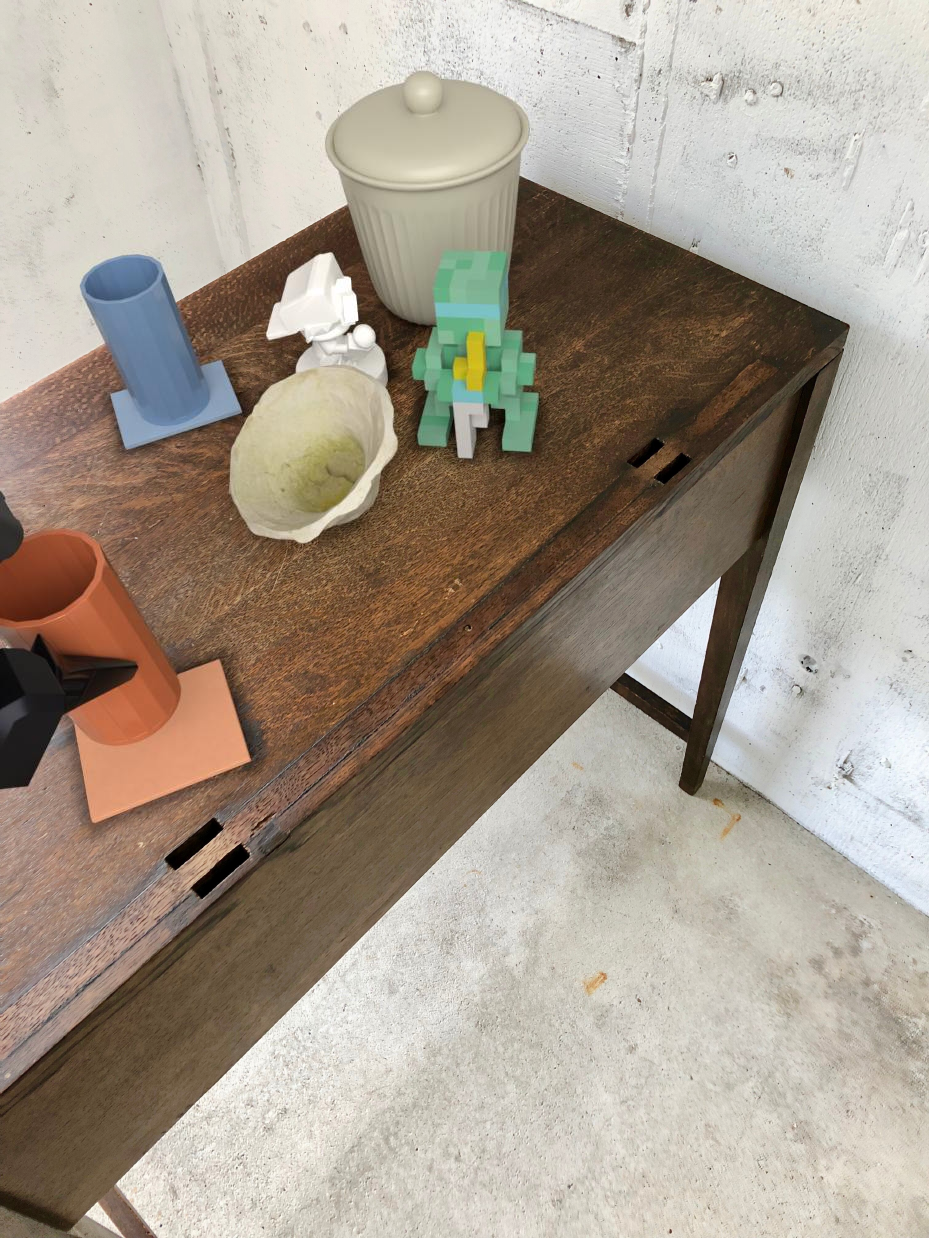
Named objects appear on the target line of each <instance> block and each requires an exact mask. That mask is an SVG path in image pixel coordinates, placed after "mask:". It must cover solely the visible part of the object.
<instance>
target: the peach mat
mask: <svg viewBox="0 0 929 1238" xmlns="http://www.w3.org/2000/svg"><path fill="white" fill-rule="evenodd" d="M177 675H178V677H179V679H180V683H181V696H180V701H179V704H178V706H177V708H176V711H175V712H174V714H173V715H172V717H171V718H170V720H169V721H168V722H167V723H166V724H165V725H164V726H163V727H162V728H161V729H160V730H158V731H157V732H156V733H154V734H153V735H151V736H150V737H148V738H146V739H144V740H141V741H139V742H136V743H133V744H129V745H123V746H109V745H104V744H100V743H97V742H95V741H93V740H92V739H90V738H89V737H88V736H87V735H86V734H85V733H84V732H83V731H82V730H81V729H80V728H79V727H78V726H77V725H76V724H75V723H74V722H73V725H74V730H75V737H76V742H77V748H78V753H79V759H80V764H81V765H80V766H81V770H82V775H83V781H84V787H85V793H86V799H87V805H88V810H89V815H90V821H91V822H92V823H93V824H96V823H99V822H101V821H103V820H106V819H109V818H111V817H114V816H117V815H119V814H121V813H124V812H126V811H130V810H132V809H134V808H137V807H139V806H142V805H144V804H146V803H149V802H151V801H155V800H157V799H159V798H161V797H164V796H167V795H170V794H172V793H175V792H177V791H180V790H182V789H185V788H187V787H189V786H193V785H195V784H197V783H199V782H202V781H204V780H207V779H209V778H212V777H214V776H217V775H219V774H223V773H225V772H227V771H230V770H232V769H235V768H237V767H240V766H242V765H245V764H247V763H250V762H252V758H251V755H250V752H249V748H248V744H247V742H246V739H245V735H244V732H243V728H242V725H241V722H240V718H239V716H238V713H237V709H236V706H235V702H234V699H233V696H232V693H231V690H230V686H229V683H228V680H227V677H226V673H225V670H224V667H223V663H222V661H221V659H219V658H217V659H215V660H211V661H210V662H207V663H205V664H202V665H199V666H196V667H194V668H190V669H188V670H186V671H183V672H180V673H177Z"/></svg>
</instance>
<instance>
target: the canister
mask: <svg viewBox="0 0 929 1238" xmlns="http://www.w3.org/2000/svg"><path fill="white" fill-rule="evenodd" d="M530 126H531V125H530V120H529V118H528V115H527V113H526V112H525V110H524V109H523V108H522V107H521V106H520V105H519V104H518V103H517V102H516V101H514V100H513V99H512V98H510V97H508V96H506V95H504V94H502V93H500V92H498V91H496V90H495V89H492V88H490V87H488V86H486V85H483V84H480V83H476V82H472V81H467V80H460V79H451V78H440V77H439V76H438V75H437V74H435V73H434V72H432V71H430V70H417V71H415V72H413V73H411V74H409V75H408V76H407V77H406V79H405V80H404V82H401V83H397V84H393V85H389V86H385V87H383V88H381V89H378V90H376V91H373V92H372V93H369V94H367V95H365V96H363V97H362V98H360V99H359V100H358V101H356V102H355V103H353V104H352V105H351V106H350V107H348V109H346V110H345V111H343V112H342V113H341V114H340V115H339V116H337V118H336V119H335V120H334V121H333V122H332V123H331V125H330V126H329V127H328V130H327V131H326V135H325V139H324V149H325V153H326V157H327V158H328V160H329V161H330V163H331V164H332V166H333V167H334V168H335V169H336V170H337V171H338V175H339V180H340V182H341V186H342V190H343V193H344V196H345V199H346V203H347V205H348V206H347V207H348V210H349V213H350V216H351V219H352V224H353V227H354V230H355V234H356V237H357V240H358V243H359V247H360V251H361V252H362V256H363V259H364V263H365V265H366V266H365V267H366V269H367V272H368V275H369V277H370V280H371V283H372V286H373V288H374V290H375V292H376V293H375V294H376V295H377V297H378V298H379V300H380V301H381V303H382V304H383V305H384V306H385V308H386V309H388V310H389V311H390V312H391V313H392V314H393V315H395V316H396V317H399V318H400V319H401V320H405V321H407V322H409V323H414V324H417V325H419V326H420V325H425V326H427V327H428V326H433V327H437V321H436V311H435V302H434V293H433V286H434V283H435V280H436V276H437V273H438V269H439V266H440V262H441V259H442V255H443V252H444V250H460V251H495V252H507V261H508V273H509V272H510V267H511V259H512V252H513V243H514V235H515V227H516V226H515V225H516V217H517V206H518V205H517V203H518V194H519V193H518V192H519V183H520V173H521V162H522V161H521V160H522V151H523V150H524V148H525V147H526V145H527V143H528V140H529V137H530V134H531V133H530V132H531V127H530Z"/></svg>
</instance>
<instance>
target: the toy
mask: <svg viewBox="0 0 929 1238" xmlns="http://www.w3.org/2000/svg"><path fill="white" fill-rule="evenodd" d="M433 293H434V302H435V311H436V321H437V326H432V329H431V334H430V336H429V340H428V344H427V348H425V347H424V348H421V347H417V349H416V352H415V355H414V359H413V362H412V366H411V371H412V372H411V373H412V378H413V380H414V381H417V380H418V381H424V390H425V391H428V392H427V396H426V399H425V404H424V408H423V410H422V411H423V412H422V415H421V418H420V423H419V427H418V431H417V443H418V446H427V447H428V446H429V447H442V448H443V447H444V448H446V447H448V441H449V438H450V433H451V429H452V425H453V420H454V429H455V439H456V449H457V456H458V457H457V458H459V459H473V457H474V453H475V448H476V443H477V429H476V428H482V429H483V428H484V429H487V428H488V426H489V422H490V408H491V409H499V410H501V409H502V410H504V411H505V421H504V422H505V423H504V427H503V432H502V439H501V445H502V446H501V447H502V451H507V452H508V451H511V452H526V453H531V452H532V448H533V442H534V435H535V430H536V429H535V428H536V424H537V418H538V417H537V416H538V409H539V400H540V399H539V397H540V396H539V394H540V393H539V392H526V391H524V386H533V384H534V378H535V373H536V367H537V360H536V359H537V354H536V353H534V352H530V353H529V352H524V351H523V330H520V329H519V330H517V329H505V328H506V324H507V318H508V314H509V309H510V303H509V301H510V300H509V272H508V261H507V252H495V251H460V250H444V252H443V255H442V259H441V262H440V266H439V269H438V273H437V276H436V280H435V283H434V286H433ZM489 406H490V407H489Z"/></svg>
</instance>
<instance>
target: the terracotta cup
mask: <svg viewBox="0 0 929 1238" xmlns="http://www.w3.org/2000/svg"><path fill="white" fill-rule="evenodd" d="M37 634H41V635H42V636H43V637H44V638H45V639H46V640H47V642H48V643H49V644H50V645H51V646H52V648H53V649H54V650H55V651H56V652H57V653H59V654H68V655H80V656H93V657H106V658H117V659H123V660H128V661H134V662H136V663H137V665H138V670H137V672H136V674H135V676H134V677H133V679H132V680H130V681H128V682H126V683H124V684H122V685H120V686H118V687H116V688H114V689H112V690H111V691H109V692H107V693H105V694H103V695H101V696H99V697H97V698H95V699H93V700H91V701H89V702H87V703H85V704H83V705H81V706H80V707H78V708H76V709H74V710H72V711H70V712H68V713H67V714H66V715H67V716H68V717H69V718H70V719H71V721H72V722H73V724H74V723H75V724H76V725H77V726H78V727H79V728H80V729H81V730H82V731H83V732H84V733H85V734H86V735H87V736H88V737H89V738H90V739H92V740H93V741H95V742H97V743H100V744H104V745H109V746H123V745H129V744H133V743H136V742H139V741H141V740H144V739H146V738H148V737H150V736H151V735H153V734H154V733H156V732H157V731H158V730H160V729H161V728H162V727H163V726H164V725H165V724H166V723H167V722H168V721H169V720H170V718H171V717H172V715H173V714H174V712H175V711H176V708H177V706H178V704H179V701H180V696H181V683H180V679H179V677H178V675H177V674H178V673H177V671H176V669H175V666H174V665H173V663H172V661H171V660H170V658H169V657H168V654H167V653H166V651H165V649H164V648H163V647H162V645H161V643H160V642H159V639H158V638H157V637H156V634H155V632H153V630H152V628H151V627H150V625H149V623H148V622H147V620H146V619H145V617H144V615H143V614H142V612H141V610H140V608H139V607H138V605H137V603H136V602H135V601H134V599H133V597H132V595H131V594H130V592H129V590H128V589H127V587H126V586H125V584H124V582H123V581H122V579H121V577H120V576H119V574H118V572H117V571H116V569H115V568H114V566H113V564H112V563H111V560H110V559H109V558H108V556H107V554H106V553H105V551H104V549H103V548H102V546H101V545H100V543H99V542H98V541H96V540H95V539H93V537H91V536H90V535H88V533H86V532H83V531H80V530H79V531H78V530H74V529H69V528H65V527H61V528H53V529H44V530H39V531H36V532H33V533H31V534H28V535H26V536H25V535H24V538H23V541H22V544H21V546H20V548H19V549H18V550H17V552H16V553H15V554H14V555H13V556H12V557H11V558H9V559H5V560H4V561H2V563H1V564H0V638H1V639H2V640H3V642H4V643H5V644H6V645H7V646H8V648H24V649H26V650H28V651H30V649H31V647H32V645H33V643H34V640H35V638H36V636H37Z"/></svg>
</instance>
